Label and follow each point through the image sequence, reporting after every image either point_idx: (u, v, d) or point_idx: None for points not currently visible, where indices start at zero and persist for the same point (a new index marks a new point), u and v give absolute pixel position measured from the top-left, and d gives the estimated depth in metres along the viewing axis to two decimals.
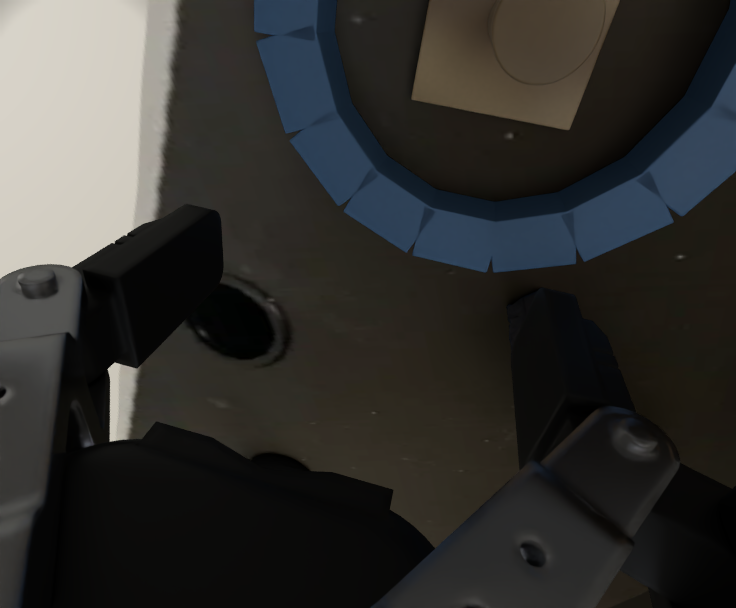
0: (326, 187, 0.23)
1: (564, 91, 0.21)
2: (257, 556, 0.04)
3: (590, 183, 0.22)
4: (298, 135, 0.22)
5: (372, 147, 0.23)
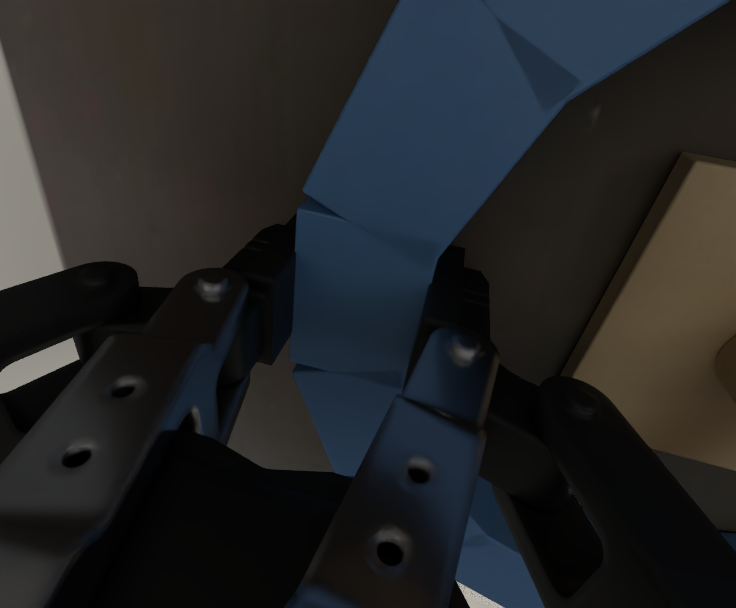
0: None
1: None
2: (257, 556, 0.04)
3: None
4: None
5: None
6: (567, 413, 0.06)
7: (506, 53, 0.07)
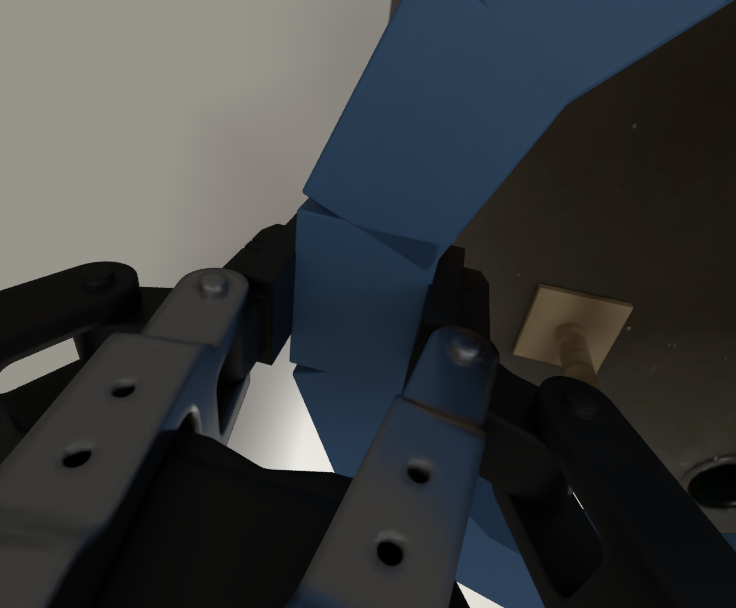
0: None
1: (609, 311, 0.39)
2: (257, 556, 0.04)
3: None
4: None
5: None
6: (567, 413, 0.06)
7: (507, 55, 0.07)
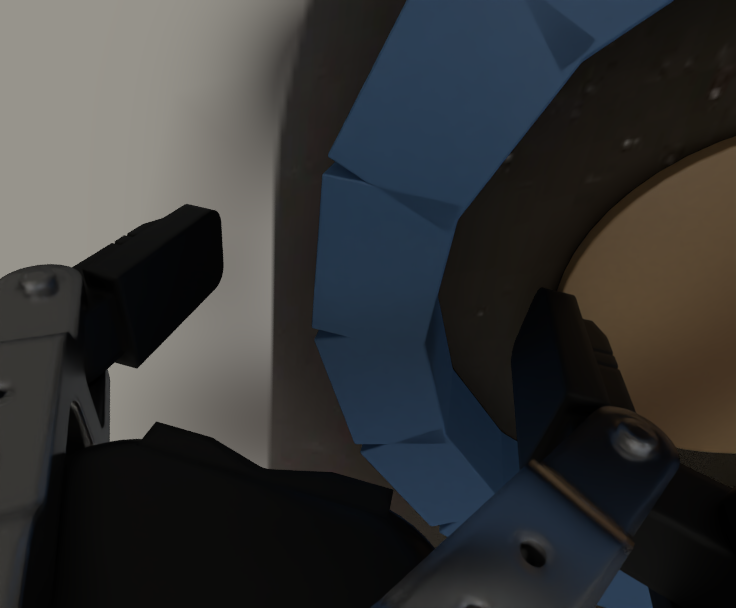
0: None
1: None
2: (257, 556, 0.04)
3: None
4: None
5: None
6: None
7: (525, 15, 0.07)
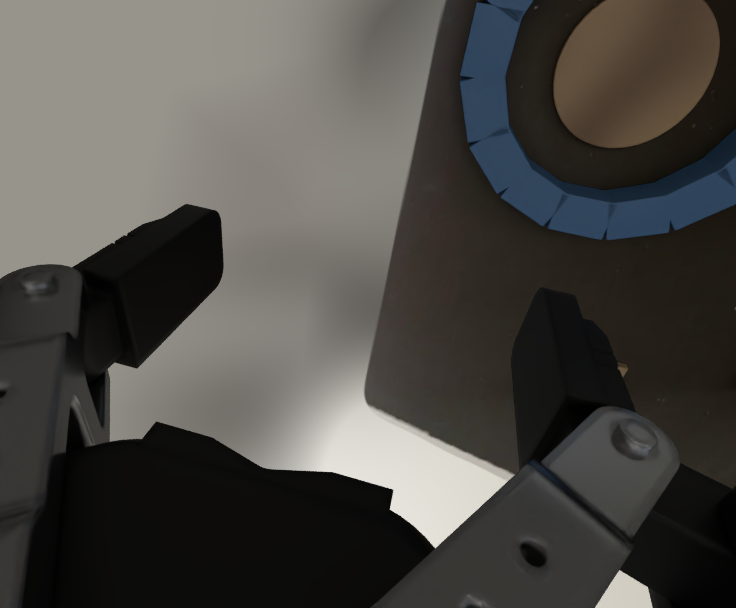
0: (721, 209, 0.31)
1: None
2: (257, 556, 0.04)
3: None
4: (673, 223, 0.32)
5: (696, 170, 0.31)
6: None
7: None
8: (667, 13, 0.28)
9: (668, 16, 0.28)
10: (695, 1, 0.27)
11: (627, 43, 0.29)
